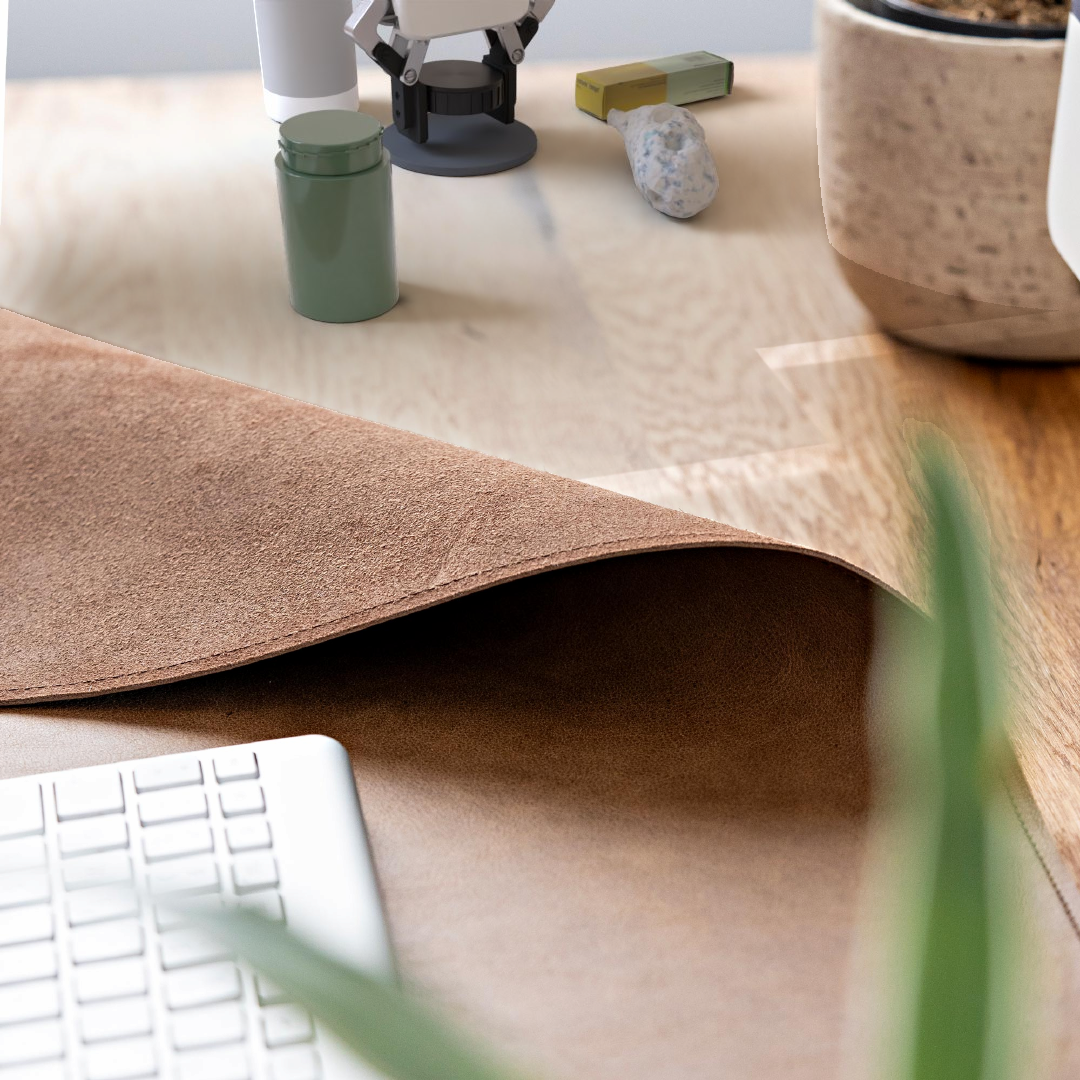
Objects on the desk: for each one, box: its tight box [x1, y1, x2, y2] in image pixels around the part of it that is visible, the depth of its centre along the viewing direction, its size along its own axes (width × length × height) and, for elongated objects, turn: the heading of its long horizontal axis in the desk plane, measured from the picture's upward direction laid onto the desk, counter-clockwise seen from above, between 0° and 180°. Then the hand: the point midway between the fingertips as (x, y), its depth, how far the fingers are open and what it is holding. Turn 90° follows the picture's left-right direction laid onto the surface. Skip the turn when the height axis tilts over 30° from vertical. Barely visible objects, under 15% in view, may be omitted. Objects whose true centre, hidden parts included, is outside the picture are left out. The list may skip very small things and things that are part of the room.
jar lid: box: [419, 59, 504, 116], centre depth 87 cm, size 6×6×2 cm
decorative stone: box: [606, 103, 720, 219], centre depth 83 cm, size 13×7×5 cm, turn 12°
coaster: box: [382, 112, 538, 177], centre depth 90 cm, size 11×11×1 cm
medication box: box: [574, 50, 735, 121], centre depth 97 cm, size 12×3×4 cm
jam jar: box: [273, 110, 400, 324], centre depth 68 cm, size 6×6×10 cm
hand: (455, 125), depth 89 cm, fingers closed on jar lid, 6 cm apart
